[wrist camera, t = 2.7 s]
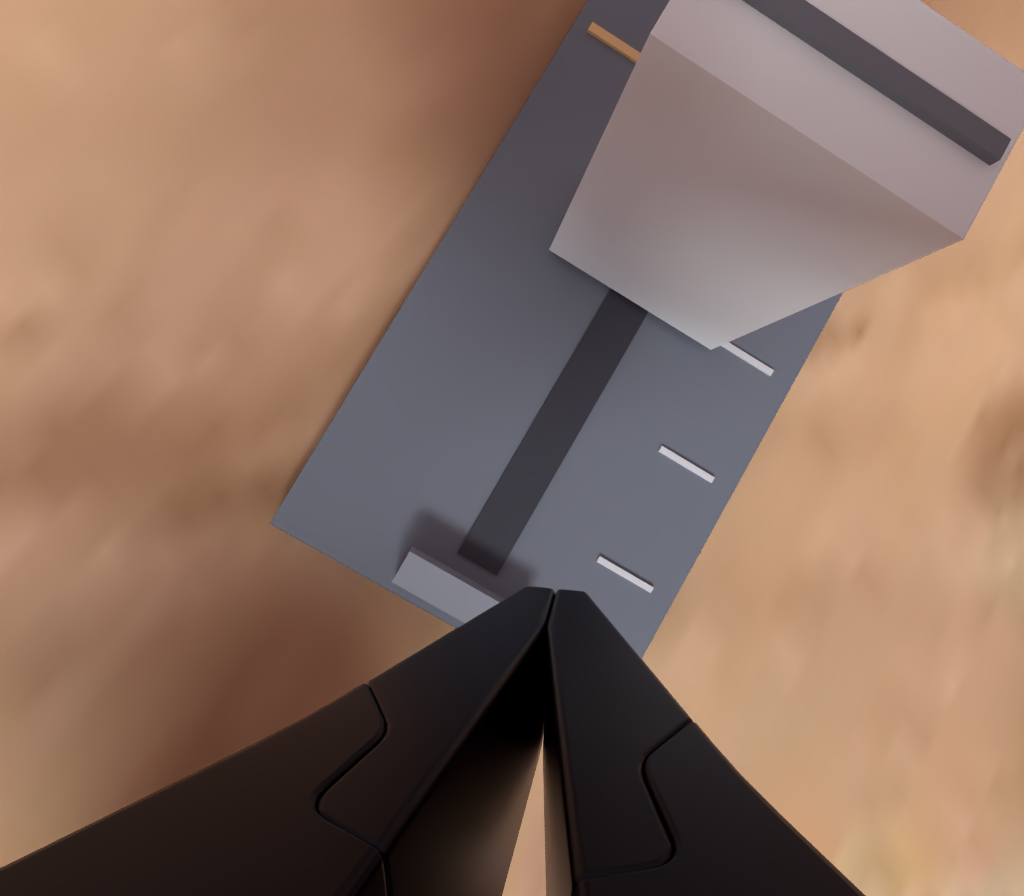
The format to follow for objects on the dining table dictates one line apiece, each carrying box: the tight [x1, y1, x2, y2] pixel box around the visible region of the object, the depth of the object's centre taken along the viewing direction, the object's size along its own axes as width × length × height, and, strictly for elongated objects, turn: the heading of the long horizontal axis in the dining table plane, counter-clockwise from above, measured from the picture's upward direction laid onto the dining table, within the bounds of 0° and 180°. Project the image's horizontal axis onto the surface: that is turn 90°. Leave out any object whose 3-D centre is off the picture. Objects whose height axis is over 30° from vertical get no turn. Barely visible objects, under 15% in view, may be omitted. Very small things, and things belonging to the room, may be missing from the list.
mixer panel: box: [270, 0, 843, 659], centre depth 20 cm, size 24×12×2 cm, turn 150°
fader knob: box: [549, 0, 1024, 350], centre depth 15 cm, size 3×6×10 cm, turn 60°
